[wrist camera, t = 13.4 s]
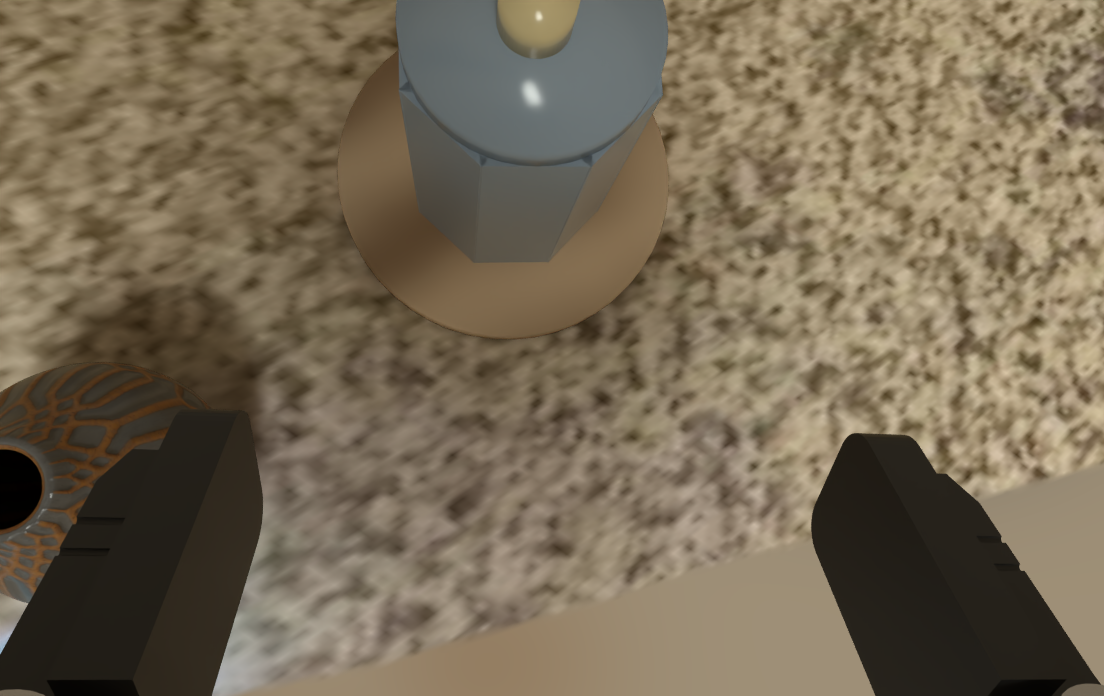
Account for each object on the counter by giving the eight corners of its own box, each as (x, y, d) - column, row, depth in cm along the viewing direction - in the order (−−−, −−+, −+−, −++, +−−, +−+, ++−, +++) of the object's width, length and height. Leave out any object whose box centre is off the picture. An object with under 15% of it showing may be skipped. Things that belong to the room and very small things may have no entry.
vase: (229, 352, 27) (119, 301, 18) (281, 546, 26) (193, 590, 17) (19, 410, 26) (-205, 386, 17) (67, 614, 25) (-141, 697, 16)
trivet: (269, 183, 28) (263, 174, 27) (495, -31, 30) (496, -44, 29) (517, 408, 27) (518, 406, 27) (725, 177, 30) (732, 170, 29)
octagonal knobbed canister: (380, 176, 27) (325, -15, 16) (503, 58, 28) (531, -194, 17) (512, 299, 27) (548, 192, 16) (631, 176, 28) (740, -2, 17)
